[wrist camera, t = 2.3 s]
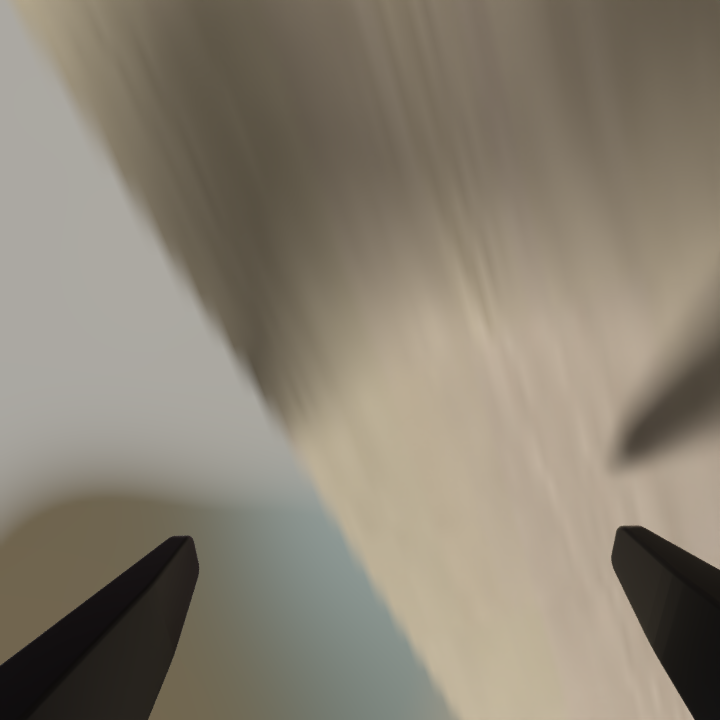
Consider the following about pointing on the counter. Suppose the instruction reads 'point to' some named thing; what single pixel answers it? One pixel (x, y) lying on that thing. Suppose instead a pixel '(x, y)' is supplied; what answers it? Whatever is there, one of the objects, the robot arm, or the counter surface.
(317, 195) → the counter surface
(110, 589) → the robot arm
